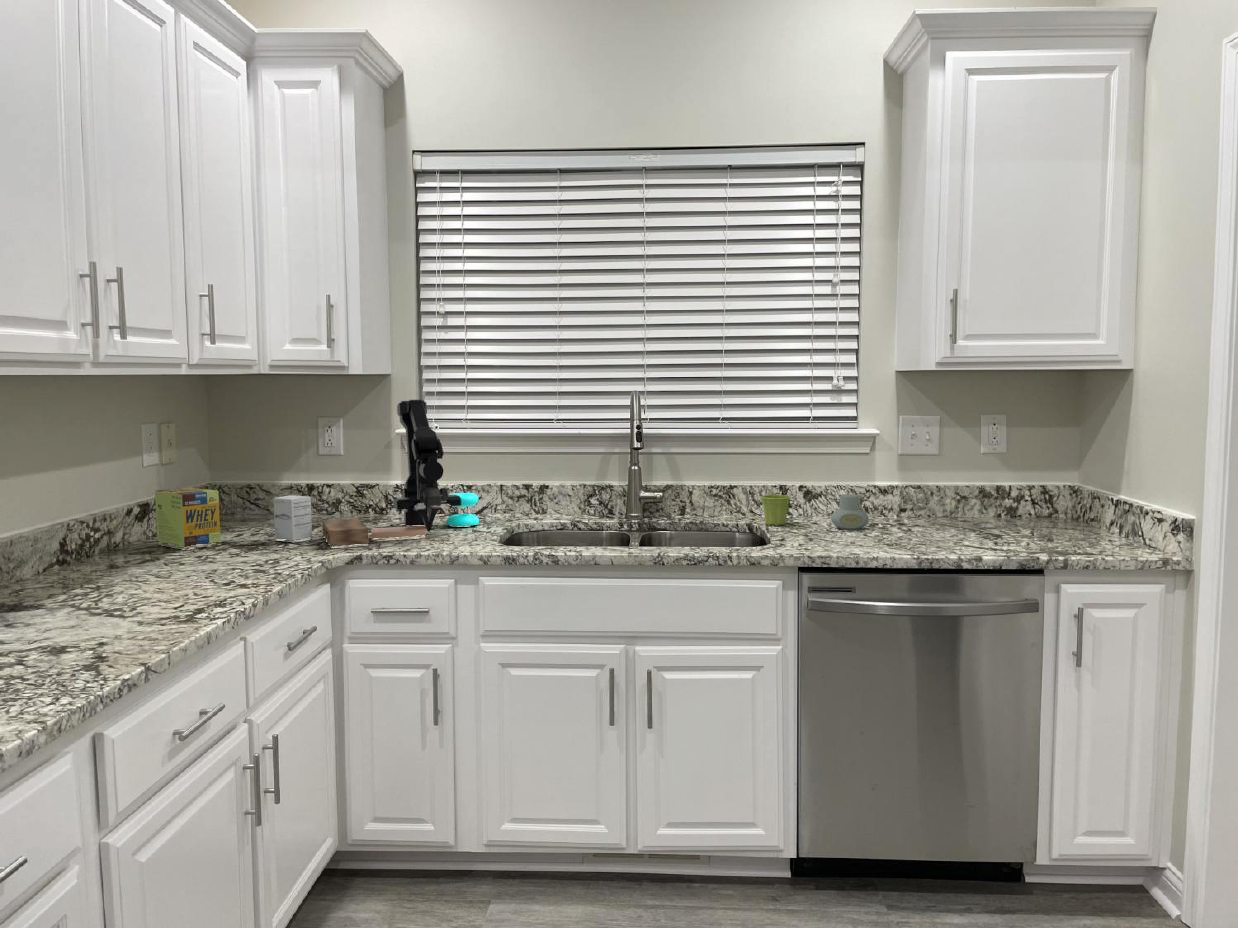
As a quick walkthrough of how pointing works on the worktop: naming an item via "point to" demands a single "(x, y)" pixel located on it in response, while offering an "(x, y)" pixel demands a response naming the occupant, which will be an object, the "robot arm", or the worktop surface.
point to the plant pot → (775, 508)
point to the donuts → (464, 519)
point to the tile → (397, 531)
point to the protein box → (187, 516)
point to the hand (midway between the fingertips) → (428, 531)
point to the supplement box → (292, 517)
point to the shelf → (345, 532)
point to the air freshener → (850, 513)
